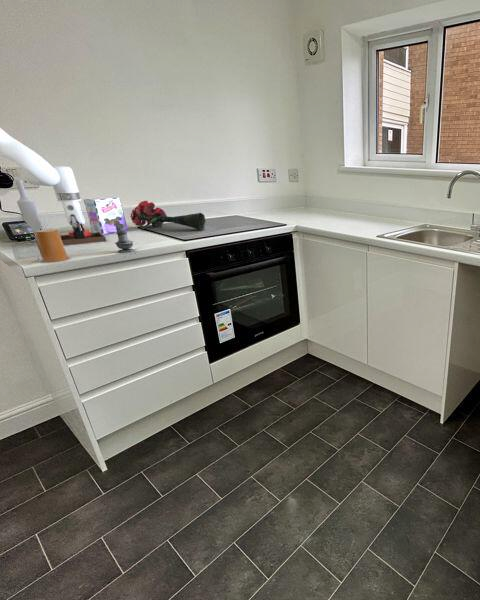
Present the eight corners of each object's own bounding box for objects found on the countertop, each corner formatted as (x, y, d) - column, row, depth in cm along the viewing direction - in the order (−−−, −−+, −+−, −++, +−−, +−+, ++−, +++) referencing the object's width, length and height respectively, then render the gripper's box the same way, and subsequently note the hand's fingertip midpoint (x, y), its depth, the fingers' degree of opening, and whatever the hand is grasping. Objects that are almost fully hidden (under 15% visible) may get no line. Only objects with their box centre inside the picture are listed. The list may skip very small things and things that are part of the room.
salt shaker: (131, 248, 144) (123, 219, 140) (138, 250, 142) (131, 221, 137) (114, 251, 140) (106, 221, 135) (121, 253, 137) (113, 222, 133)
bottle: (47, 238, 156) (27, 179, 147) (46, 240, 152) (26, 180, 143) (31, 239, 153) (10, 179, 144) (29, 242, 149) (8, 180, 140)
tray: (60, 245, 145) (58, 241, 145) (56, 240, 154) (55, 236, 153) (106, 241, 156) (105, 236, 155) (100, 236, 164) (99, 232, 163)
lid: (91, 233, 159) (90, 229, 158) (90, 236, 153) (89, 232, 153) (70, 234, 155) (69, 230, 154) (68, 237, 149) (67, 233, 149)
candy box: (103, 235, 167) (93, 199, 161) (92, 234, 168) (82, 198, 162) (128, 230, 180) (120, 197, 174) (118, 229, 180) (109, 196, 174)
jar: (43, 263, 122) (33, 232, 118) (42, 259, 126) (31, 230, 122) (68, 260, 127) (59, 230, 123) (66, 256, 131) (57, 228, 127)
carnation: (205, 243, 190) (136, 239, 186) (213, 217, 199) (147, 212, 195) (194, 224, 177) (119, 219, 172) (203, 197, 185) (132, 192, 181)
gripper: (78, 198, 144) (91, 241, 150) (81, 195, 156) (93, 234, 163) (53, 199, 139) (67, 243, 146) (59, 195, 152) (72, 236, 159)
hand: (81, 238), depth 154 cm, fingers closed on lid, 7 cm apart
